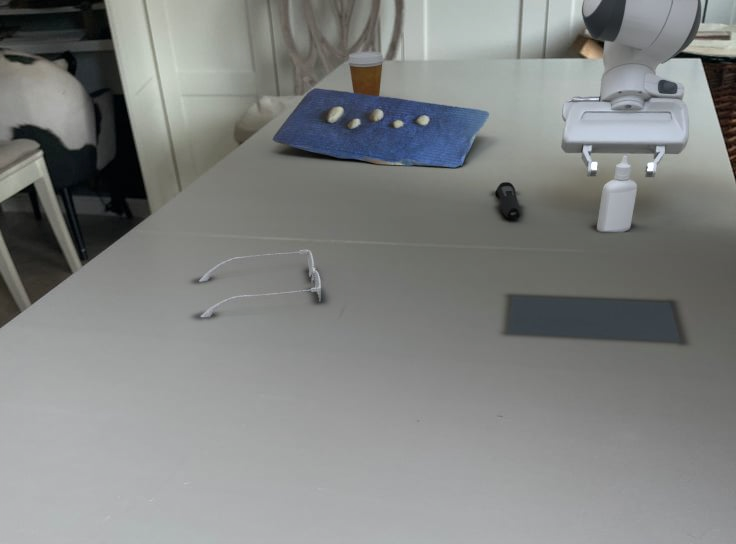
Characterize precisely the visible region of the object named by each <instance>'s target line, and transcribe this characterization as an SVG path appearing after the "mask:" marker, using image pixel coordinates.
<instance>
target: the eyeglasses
mask: <svg viewBox="0 0 736 544" xmlns="http://www.w3.org/2000/svg"><path fill="white" fill-rule="evenodd" d="M285 254H287V255H288V254H299V255H304V254H306V255H307V261H308V262H307V263H308V277H310V278H311V285H313V283H314V287H311V288H310V289H304V290H295V291H285V292H275V293H274V292H273V293H263V294H242V295H236V296H231V297H229V298H226V299H224V300H221V301H220V302H218V303H215V304H214V305H212V306H210V308H208V309H206V310H205V311H204V312H203V313H202V314H201V315H200V318H210V317H211V316H212V315H213V313H214V311H215V310H217V308H219V307H220V306H221V305H224V304H225V303H226V302H229V301H231V300H234V299H239V298H251V297H259V296H270V295H271V296H272V295H283V294H292V293H300V292H311V293H315V292H316V294H317V295H318V302H321V301H322V283H321V277H320V274H319V273H320V272H318V270H316V267H315V262H314V261H315V260H314V257H313V253H312V251H311V250H309V249H301V250H299V251H293V252H278V253H267V254H256V255H245V256H238V257H233V258H229V259H227V260H224V261H222V262H220V263H219V264H217V265H216V266H214V267H212V268H211V269H209V271H207V272H206V273H204V275H202V277H201V278H200V279H199V280H198V281H199V282H201V283H202V282H206V281H209V280H210V278H211V275H212V274H213V273H214V272H215V271H216V270H217V269H219V268H220V267H221V266H222V265H224V264H226V263H228V262H231V261H234V260H239V259H246V258H254V257H263V256H264V257H265V256H274V255H285Z"/></svg>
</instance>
